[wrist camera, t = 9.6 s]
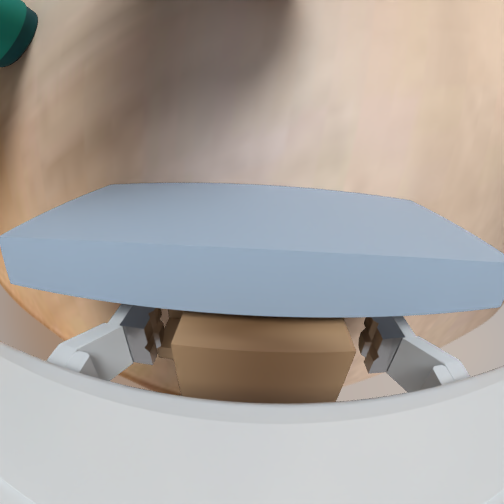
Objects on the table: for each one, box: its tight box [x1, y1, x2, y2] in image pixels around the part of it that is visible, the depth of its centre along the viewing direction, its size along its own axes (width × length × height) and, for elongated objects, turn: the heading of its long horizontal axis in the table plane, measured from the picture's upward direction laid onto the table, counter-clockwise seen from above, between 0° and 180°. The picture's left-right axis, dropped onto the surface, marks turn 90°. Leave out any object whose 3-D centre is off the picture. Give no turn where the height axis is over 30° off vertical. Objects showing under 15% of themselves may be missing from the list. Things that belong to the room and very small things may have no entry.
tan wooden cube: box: [171, 311, 356, 404], centre depth 11 cm, size 5×4×7 cm
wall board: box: [0, 183, 504, 359], centre depth 13 cm, size 20×8×10 cm, turn 87°
